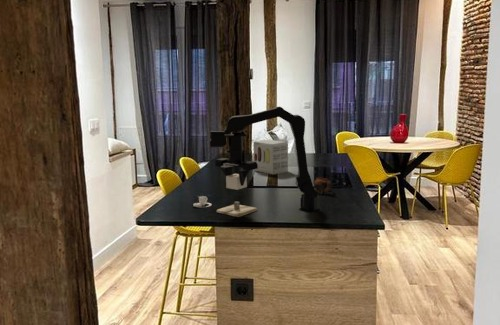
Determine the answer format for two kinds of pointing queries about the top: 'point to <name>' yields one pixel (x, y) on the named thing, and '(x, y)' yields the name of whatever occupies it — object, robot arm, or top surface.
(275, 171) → the supplement box
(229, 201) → the top surface
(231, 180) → the small white box
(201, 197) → the white ring with cylinder
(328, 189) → the pottery mug
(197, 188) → the top surface
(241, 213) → the board
